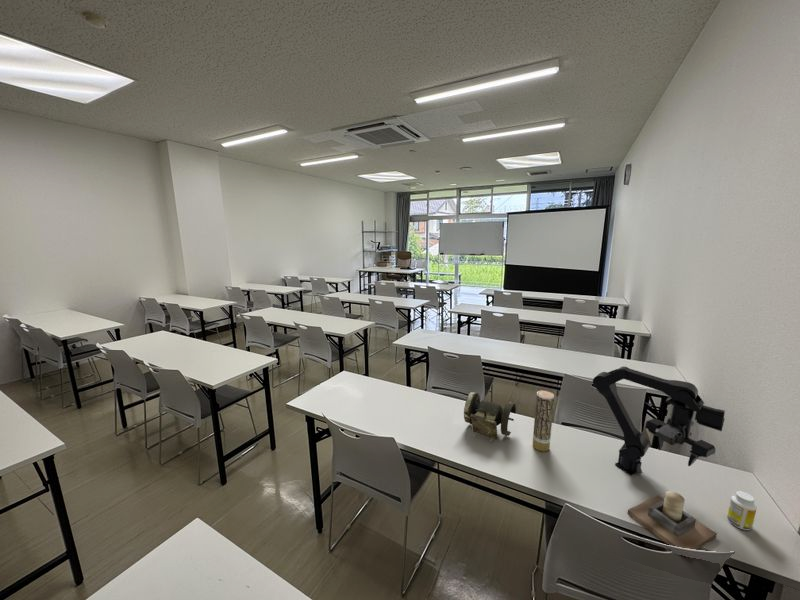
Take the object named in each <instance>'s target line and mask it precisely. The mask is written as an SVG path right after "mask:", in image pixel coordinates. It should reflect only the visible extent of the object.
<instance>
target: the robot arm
mask: <svg viewBox="0 0 800 600" xmlns="http://www.w3.org/2000/svg"><path fill="white" fill-rule="evenodd" d="M622 380H626V381H629V382H631V383H634V384H638V385H641V386H644V387H647V388H650V389H653V390H656V391H658V392H662V393H663V394H665V395H666V396H668V397H667V398H666V399H665V403H666V404H670V405H672V407H671V412H670V417H669V418H668V419H667V420H666V422H664V421H662V420H660V419H658V418H652V419H648V420H646V421H645V422H644V428H645V429H647V430H648V432H650V433H651V434H652V435H653V436H654V440H655V442H656V446H657V449H658V451H662V449H663V446H664V442H665V443H667V444H668V445H671V446H674V445H675V444H676V445H677V444H678V445H683V444H684V443H686V444H687V445H690V446H691V450H689V452H690V455H689V459H688V462H687V466H688V467H691V466H692V465H693V464H694V463H695V462H696V461H697V460H698V459H699V458H701V457H702V458H703V457H704V458H708V457H710V456H713V455H715V454H716V447H715V445H713V444H711V443H709V442H707V441H705V440H702V439H700V440H695V439H692V438H690V437H691V436H692V434H693V433H692V432H691V430H692V426H694V425H695V423H694V422H693V420H694V421H696V423H697V424H698V425H700V426H703V427H706V428H710V429H713V430H715V431H718V432H722V431H723V427H724V423H725V412H726V411H725V410H723V409H721V408H720V409H719V408H715V407H711V406H707V405H704V404H705V402H704V400H703V399H702V398H701V396H700V395H699V389H698V388H697V387H696V385H695V384H693V383H691V382H689V381H682V380H676V379H673V380H672V379H666V378H661V377H658V376H655V375H652V374H650V373H645V372H642V371H639V370H636V369H632V368H629V367H627V366H620V367H619V368H616V369H613V370H610V371H609V372H608V371H607V372H606V371H602V372H601V371H600V373H598V374H597V375H596V376H595V377H593V379H592V385H593V387H594V388H595V390H596V391H598V393H599V394H600V395H602V396H603V397H604V398H605V400H606V402H607V404H608V406H609V408H610V410H611V412H612V414H613V416H614V417H615V420H616V422H617V423H618V425H619V427H620V429H621V431H622V433H623V441H624V443H623V445H621V447H620V449H618V460H617V462H615V464H614V465H615V466H617V467H618V468H619V469H621V470H622V471H624V472H625V473H627V474H629V475H630V476H632V475H633V476H634V475H636V474H638V473H640V472H642V471H643V469H642V464H643V463H642V458H643V457H644V456H645V455H646V453H647V451H648V450H649V448H650V442H651V441H650V440H649V438H647V436H646V433H645V432H644V431H641V432H640V431H639V429H637V428H636V427H635V425H634V423H633V420H632V418H631V417H630V415H629V413H628V411H627V409H626V407H625V406H624V404H623V402H622V399H621V397H620V396H619V394H618V389H617V384H616V383H617V382H620V381H622ZM694 412H695V413H694ZM694 414H695V417H694ZM693 418H694V419H693Z"/></svg>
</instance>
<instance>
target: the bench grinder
mask: <svg viewBox="0 0 800 600" xmlns="http://www.w3.org/2000/svg"><path fill="white" fill-rule="evenodd" d="M464 404H465V405H464V407H463V419H464V422H466V423H468V424H470V425H471V430H472V433H473V437H475V436H476V435H475V434H479V435H481V436H484V437H487V438H491V439H490V440H489V443H491V441H493V440H498V439H499V437H498V427H497V426H499V425H500V434H501V435H503V436H507V437H509V436H510V435H511V433H512V432H511V431H509V430H508V427H509V426H508V425H509V421H512V422H514V418H512V417H510V415H511V413H512V414H516V412H517V406H516V403H513V402H511V401H507V402H506V403H505V405H504V408H503V407H502V406H501V405H500V404H498V403H494V402H491V401H488V400H481V396H480V394H479V393H478V392H474V391H471V392H470V393H469V394H467V398H466V400H465V403H464Z"/></svg>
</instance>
